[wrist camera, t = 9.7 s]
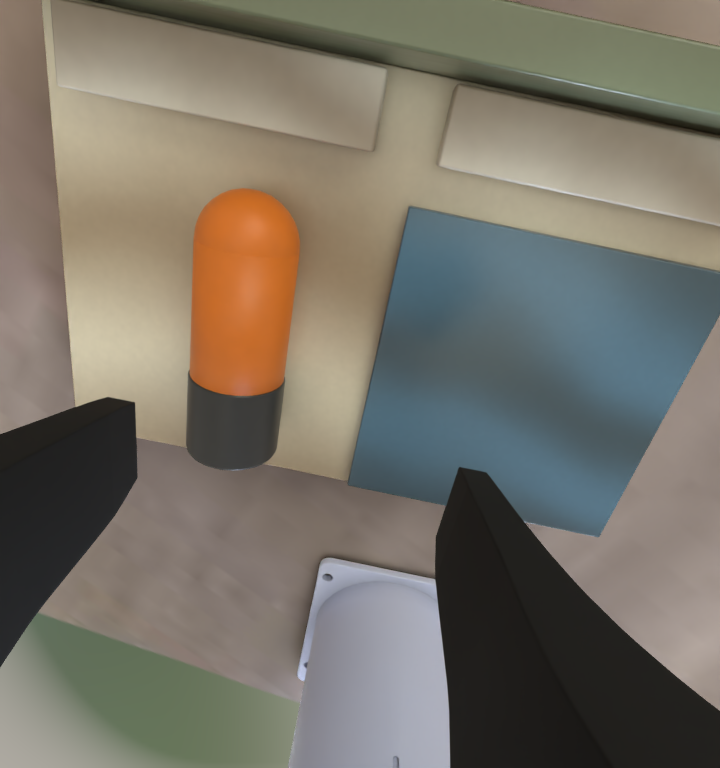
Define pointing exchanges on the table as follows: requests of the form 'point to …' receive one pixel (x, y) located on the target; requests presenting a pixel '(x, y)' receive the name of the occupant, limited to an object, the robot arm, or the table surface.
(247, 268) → the orange capsule container
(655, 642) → the table surface
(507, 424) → the bed
